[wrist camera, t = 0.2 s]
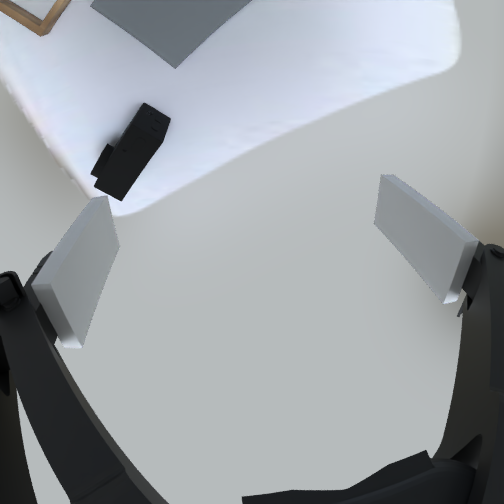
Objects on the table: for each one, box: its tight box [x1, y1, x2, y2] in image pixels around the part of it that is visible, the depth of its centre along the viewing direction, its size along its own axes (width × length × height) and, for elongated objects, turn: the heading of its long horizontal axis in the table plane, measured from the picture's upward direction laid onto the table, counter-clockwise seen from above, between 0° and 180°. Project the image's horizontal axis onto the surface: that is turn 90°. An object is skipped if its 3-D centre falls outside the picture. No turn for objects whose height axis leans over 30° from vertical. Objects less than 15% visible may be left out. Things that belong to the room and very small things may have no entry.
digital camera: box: [91, 103, 171, 201], centre depth 36 cm, size 10×5×7 cm, turn 138°
